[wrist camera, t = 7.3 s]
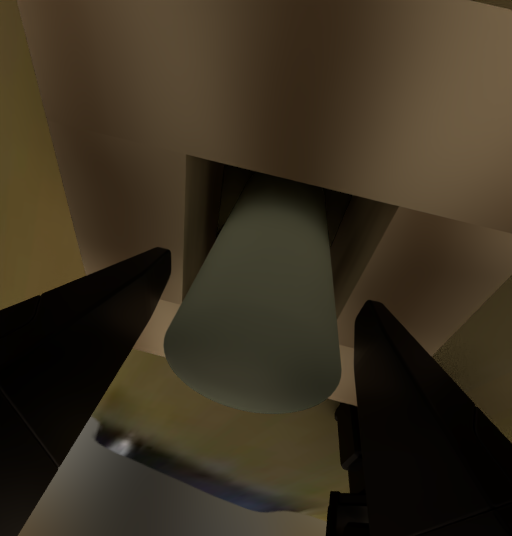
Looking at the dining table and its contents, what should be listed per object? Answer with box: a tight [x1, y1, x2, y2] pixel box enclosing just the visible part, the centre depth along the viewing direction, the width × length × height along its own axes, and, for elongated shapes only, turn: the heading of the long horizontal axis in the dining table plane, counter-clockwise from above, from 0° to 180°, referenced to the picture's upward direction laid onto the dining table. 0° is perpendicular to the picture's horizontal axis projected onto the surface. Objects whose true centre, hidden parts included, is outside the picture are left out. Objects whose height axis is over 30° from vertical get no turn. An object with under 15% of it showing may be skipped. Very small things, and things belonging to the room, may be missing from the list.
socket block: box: [17, 0, 512, 406], centre depth 11 cm, size 14×14×5 cm
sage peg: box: [163, 172, 342, 414], centre depth 10 cm, size 4×4×9 cm
